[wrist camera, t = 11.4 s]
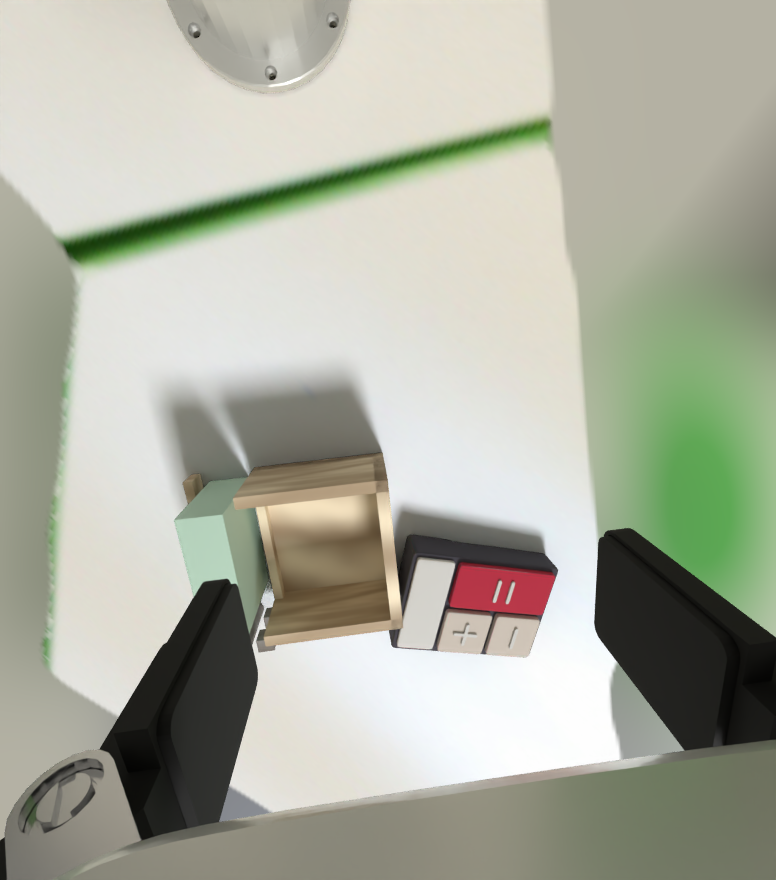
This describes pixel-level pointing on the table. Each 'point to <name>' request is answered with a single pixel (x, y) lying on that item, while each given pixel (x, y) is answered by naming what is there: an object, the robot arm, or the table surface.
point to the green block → (223, 543)
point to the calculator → (471, 597)
